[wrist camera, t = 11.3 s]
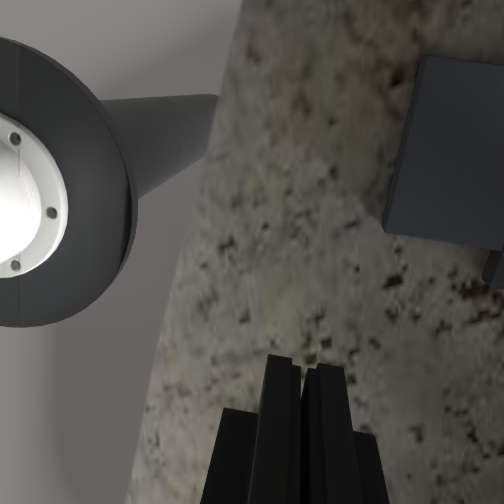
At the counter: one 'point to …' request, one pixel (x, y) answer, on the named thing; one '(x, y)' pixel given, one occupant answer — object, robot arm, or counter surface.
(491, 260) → the black notched block
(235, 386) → the counter surface
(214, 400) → the counter surface
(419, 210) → the charcoal pad
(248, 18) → the counter surface
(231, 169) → the counter surface
